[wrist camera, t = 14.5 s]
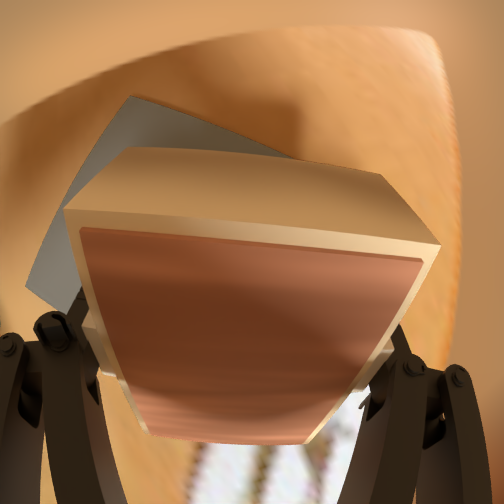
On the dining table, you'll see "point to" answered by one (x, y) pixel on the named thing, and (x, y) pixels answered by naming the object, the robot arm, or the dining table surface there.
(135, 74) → the dining table surface
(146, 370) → the birch board
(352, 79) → the dining table surface
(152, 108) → the mat
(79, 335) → the robot arm
